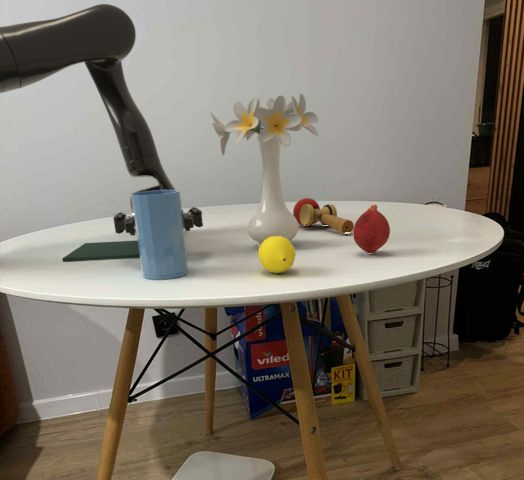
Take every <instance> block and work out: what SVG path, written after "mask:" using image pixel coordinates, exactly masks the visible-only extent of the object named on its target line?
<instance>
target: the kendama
mask: <svg viewBox="0 0 524 480" xmlns="http://www.w3.org/2000/svg"><path fill="white" fill-rule="evenodd" d="M337 211H338V210H337V207H336V206H335V205H333V204H331V203H330V204H329V203H327V204H324V205H323V206H322V208H321V206H320V204H319V203H318V202H317V201H316V200H315V199H313V198H310V197H304V198H301V199H299V200H298V201H297V202H296V203H295V205H294V206H293V211H292V214H293V215H294V217H295V218H296V220H297V222H298V225H299V226H302V225H305V226H306V227H310V226H309V225H311V226H313V225H315V224H317V223H320V224H321V225H322V226H323V225H328V226H330V227H329V228H332V229H333V230H335V231H337V232H339V233H341V234H342V233H345V232H351V231H352V232H353V229H354V226H355V223H354V222H353V220H351V219H346V218H344V217H343V218H342V217H339V216H338V212H337ZM312 224H313V225H312ZM352 232H351V233H352Z"/></svg>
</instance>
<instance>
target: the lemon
mask: <svg viewBox="0 0 524 480" xmlns="http://www.w3.org/2000/svg"><path fill="white" fill-rule="evenodd" d="M295 249H296V248H295V247H294V245H293V243H291V240H290V241H289V240H288V239H286V238H284V237H282V236H272V237H269V238H267V239H266V240H264V241H263V243H262V244H261V246H260V248H258V252H257V257H258V260H259V263H260V265H261V267H262V268H263V269H265V270H266V271H267V272H270V273H274V274H282V273H285V272H286V271H288V270H290V268H291V267H292V266H293V265H294V262H295V258H296V250H295Z"/></svg>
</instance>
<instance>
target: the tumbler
mask: <svg viewBox="0 0 524 480" xmlns="http://www.w3.org/2000/svg"><path fill="white" fill-rule="evenodd" d="M135 192H136V191H135ZM131 196H132V203H133V210H134V217H135V224H136V231H137V233H136V238H137V240H138V246H139V253H140V258H139V261H140V266H141V272H142V277H143V278H145V279H147V280H155V281H156V280H158V281H159V280H160V281H161V280H162V281H163V280H171V279H177V278H180V277H184V276H186V275H187V274H188V273H189V265H188V256H187V255H188V254H187V245H186V236H185V235H186V234H185V229H184V225H183V215H182V210H183V207H182V197H181V190H178V189H175V190H154V191H143V192H136V193H134V192H132V193H131V195H130V197H131Z"/></svg>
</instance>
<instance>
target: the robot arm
mask: <svg viewBox="0 0 524 480" xmlns="http://www.w3.org/2000/svg"><path fill="white" fill-rule="evenodd" d="M136 38H137V33H136V27H135V24H134V22H133V20H132V19H131V17H130V16H129V15H128V13H127V12H126V11H124V10H123V9H122V8H120V7H118V6H116V5H113V4H109V3H98V4H95V5H93V6H90V7H88V8H85V9H81V10H79V11H76V12H73V13H70V14H67V15H64V16H60V17H55V18H51V19H44V20H36V21H35V20H34V21H28V22H22V23H15V24H11V25H5V26H0V94H3V93H8V92H11V91H15V90H19V89H22V88H25V87H28V86H31V85H32V84H33V85H34V84H36V83H38V82H41V81H43V80H44V79H47V78H49V77H51V76H53V75H55V74H56V73H59V72H60V71H63V70H65V69H66V68H69V67H72V66H75V65H77V64H81V63H84V65H85V67H86V69H87V71H88V73H89V75H90V77H91V79H92V81H93V84H94V86H95V87H96V90H97V92H98V94H99V96H100V99H101V100H102V101H101V102H102V103H103V105H104V108H105V110H106V112H107V114H108V118H109V120H110V123H111V125H112V129H113V131H114V134H115V137H116V140H117V142H118V145H119V149H120V152H121V155H122V157H123V161H124V164H125V167H126V170H127V173H128V174H129V175H130V176H131V177H132V178H152V179H153V180H155V181H156V182H157V184H158V185H157V184H156V185H154V186H150V187H146V188H142V189H138V190H136V191H133V193H136V192H143V191H154V190H176V188H175V186H174V185H173V184H172V181H171V180H170V178H169V176H168V174H167V173H166V171H165V169H164V167H163V165H162V162H161V159H160V156H159V153H158V150H157V145H156V143H155V140H154V137H153V133H152V131H151V129H150V126H149V124H148V122H147V120H146V118H145V117H144V115H143V113H142V112H141V110H140V108H139V107H138V105H137V104H136V102H135V100H134V98H133V97H132V94H131V92H130V90H129V87H128V85H127V81H126V78H125V73H124V69H123V63H122V62H123V60H125V59H126V58H127V57H129V54H131V52H132V50H133V48H134V46H135V44H136ZM129 207H130V210H131V213H132V214H131V215H127V214H126V213H124V212H117V213H116V214H115V215H114V216H113V224H114V231H115V234H118V235H119V234H120V235H121V234H123V233H124V232H125V233H126V234H129V236H136V234H137V231H136V224H135V217H134V210H133V203H132V196H131V195H130V199H129ZM182 215H183V225H184V232H190V231H191V229H194V228H195V227H196V228H202V227H204V222H203V211H202V210H201V209H199V208H198V207H195V206H193V207H191V208H189V209H188V211H184V209H182Z"/></svg>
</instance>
